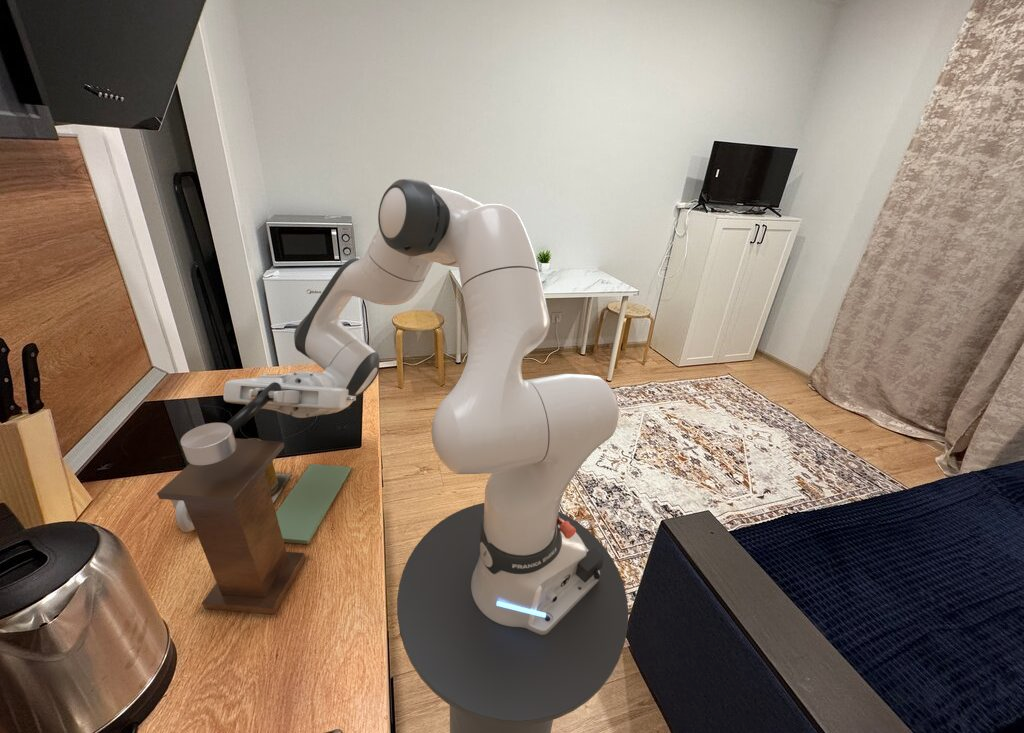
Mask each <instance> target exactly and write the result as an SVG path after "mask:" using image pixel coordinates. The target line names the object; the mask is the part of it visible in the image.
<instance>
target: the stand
mask: <svg viewBox="0 0 1024 733" xmlns="http://www.w3.org/2000/svg"><path fill="white" fill-rule="evenodd" d="M235 440H236V444H237V448H236V450H235V451H234V453H233V454H231V455H230V456H229V457H227V458H226V459H224V460H222V461H219V462H217V463H213V464H209V465H193V464H190V463H189V464H188V465H186V466H185V467H184V468H183V469H182V470H181V471H180V472H178V474H176V476H174V477H173V478H172V479H171V480H169V482H167V483H166V484H165V485H164V486H163V487H162V488H161V489H160V490H159V491H158V492H156V495H157V497H158V499H159V500H170V501H171V500H181V501H184V504H185V506H186V509H187V511H188V513H189V516H190V518H191V521H192V523H193V526H194V528H195V530H194V531H195V533H196V536H197V538H198V541H199V543H200V545H201V548H202V550H203V553H204V555H205V558H206V560H207V563H208V565H209V568H210V570H211V572H212V576H213V578H214V580H215V584H214V586H213V587H212V588H211V590H210V591H209V593H208V594H207V595H206V596H205V598H204V599H203V601H202V602H201V604H202V606H203V609H205V610H215V611H226V612H240V613H251V614H253V613H254V614H262V615H263V614H265V615H276V613H277V611H278V609H279V607H280V606H281V605H282V602H283V600H284V599H285V597H286V595H287V594H288V592H289V590H290V588H291V587H292V585H293V583H294V581H295V579H296V577H297V576H298V573H299V572H300V570H301V568H302V566H303V564H305V561H306V554H305V553H304V552H297V551H287V548H286V545H285V542H284V541H283V537H282V534H281V530H280V526H279V523H278V519H277V515H276V508H275V505H274V503H273V501H272V497H271V493H270V490H269V486H268V482H267V479H266V475H265V471H264V470H265V469H266V468H267V467H268V466H269V464H270V463H271V462H272V461H273V462H274V460H275V458H277V456H278V455H279V454H280V453H281V452H282V451H283V449H284V448H285V444H284V443H285V442H284V441H277V440H263V439H262V440H251V439H250V438H239V437H238V438H237V437H235Z"/></svg>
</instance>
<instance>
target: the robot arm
mask: <svg viewBox="0 0 1024 733" xmlns="http://www.w3.org/2000/svg"><path fill="white" fill-rule="evenodd" d="M377 214H378V215H377V219H378V221H377V222H378V227H377V230H376V231H375V233H374V235H373V237H372V239H371V241H370V243H369V245H368V248H367V250H366V252H365V254H364V255H363V256H362V257H360V258H358V257H354V258H350V259H348V260H347V261H346V262H344V263H343V264H342V265H341V266H340V267H339V268H338V269H337V270H336V272H335V273H334V274H333V275H332V276H331V279H330V280H329V281H328V283H327V284H326V286H325V287H324V289H323V290H322V292H321V294H320V295H319V297H318V298H317V300H316V302H315V303H314V305H313V306H312V308H311V310H310V311H309V312H308V313H307V315H305V317H304V318H303V319H302V320H301V321H300V322H299V323H298V325H297V327H296V328H295V330H294V334H293V341H294V347H295V350H296V351H297V352H299V353H301V354H302V355H303V356H305V357H307V358H308V359H310V360H311V361H313V362H314V363H315V364H316V365H318V366H319V367H320V368H321V369H323V371H322V372H320V371H319V372H318V371H308V370H307V371H306V370H299V371H294V372H288V373H283V374H282V373H281V374H260V375H259V377H248V378H237V379H229V380H227V381H225V383H224V386H223V393H222V394H223V395H222V396H223V401H224V402H225V403H228V404H229V403H230V404H237V405H247V404H248V403H249V402H251V401H252V400H253V399H254V398H255V397H256V396H257V395H259V394H260V393H261V392H262V391H263V390H264V389H265V388H266V387H268V386H269V385H270V384H271V383H273V382H277V383H279V384H280V386H281V390H280V391H269V393H268V396H269V397H268V401H269V402H268V403H266V404H265V405H264V406H263V407H262V408H261V410H267V411H273V412H279V413H282V414H285V415H289V416H291V417H294V418H297V419H298V418H299V419H305V418H312V417H318V416H324V415H325V416H326V415H332V414H336V413H338V412H341V411H343V410H345V409H346V408H348V407H350V406H351V404H352V403H353V402H355V401H357V397H358V396H360V395H362V394H363V393H364V392H365V391H367V389H368V388H370V386H371V385H372V384H373V383H374V381H375V379H376V378H377V377H378V375H379V371H380V355H379V353H378V352H377V351H376V350H375V349H373V348H372V347H371V346H370V345H368V343H366V342H365V341H364V340H363V339H360V337H359V336H357V335H356V334H354V333H353V332H352V331H351V330H350V329H348V328H347V327H346V326H345V325H344V324H343V323H342V321H341V319H340V315H341V313H342V312H343V310H345V307H346V306H347V304H348V303H349V302H350V300H351V299H352V297H356V298H360V299H362V300H366V301H368V302H371V303H373V304H376V305H382V306H398V305H403V304H405V303H407V302H409V301H411V300H412V299H413V298H414V297H415V296H416V295H417V294H418V292H419V290H420V289H421V288H422V286H423V284H424V282H425V280H426V278H427V276H428V274H429V272H430V271H431V268H432V266H433V264H434V263H437V264H440V265H442V266H446V267H454V268H458V273H459V279H460V284H461V291H462V292H461V293H462V296H463V302H464V308H465V315H466V323H467V332H468V352H467V358H466V362H465V365H464V368H463V371H462V374H461V376H460V377H459V379H458V381H457V383H456V384H455V386H454V387H453V389H452V390H451V391H450V392H449V393H448V394H447V396H446V397H444V399H443V400H441V402H440V403H439V405H438V407H437V408H436V410H435V413H434V415H433V418H432V422H431V431H430V432H431V442H432V445H433V448H434V451H435V453H436V455H437V457H438V459H439V460H440V461H441V462H442V464H443V465H444V466H445V467H446V468H447V469H449V470H450V472H452V473H454V474H456V475H486V474H490V476H488V479H487V482H486V484H485V488H484V500H483V501H484V502H483V503H484V515H483V518H482V521H481V529H480V556H479V560H478V563H477V565H476V568H475V570H474V572H473V575H472V580H471V591H472V595H473V598H474V601H475V603H476V605H477V606H478V608H479V609H480V610H481V612H482V613H483V614H484V615H486V616H487V617H488V618H489V619H491V620H493V621H494V622H496V623H499V624H502V625H505V626H510V627H523V628H527V629H529V630H531V631H533V632H535V633H537V634H541V635H545V634H547V633H548V632H549V631H550V630H551V629H552V628H553V627H554V626H555V625H556V624H557V623H558V622H559V621H560V620H561V619H562V618H563V617H564V616H565V615H566V614H567V613H568V612H569V611H570V610H571V609H572V608H573V607H574V606H575V605H576V604H577V603H578V602H579V601H580V600H581V599H582V598H583V596H584V595H585V594H586V593H587V592H588V591H589V590H590V589H591V588H592V587H593V586H594V585H595V584H596V583H597V582H598V581H599V579H600V573H599V570H600V569H601V568H602V566H603V561H604V557H605V556H604V555H603V554H602V553H601V552H599V551H598V550H597V549H596V548H595V547H592V548H591V549H590V550H588V549H587V548H586V547H585V545H584V543H583V541H582V540H581V538H580V537H579V535H578V534H577V533H576V529H575V528H574V527H573V526H572V525H570V523H569V521H564V520H562V519H561V518H560V515H559V514H558V511H559V510H560V506H561V502H562V499H563V496H564V494H565V492H566V490H567V489H568V486H569V485H570V483H571V481H572V480H573V478H574V477H575V475H576V474H577V473H578V471H579V470H580V468H581V467H582V465H583V464H584V463H585V462H586V461H587V459H588V458H589V457H590V456H591V455H592V453H594V452H595V451H596V450H597V449H598V448H599V447H601V445H603V444H604V443H605V442H607V441H608V440H610V439H611V438H612V437H613V435H614V434H615V433H616V430H617V427H618V424H619V418H620V409H619V404H618V400H617V396H616V395H615V393H614V391H613V390H612V388H611V386H610V385H609V384H608V383H607V382H606V381H605V380H604V379H603V378H602V377H600V376H598V375H593V374H582V373H560V374H554V375H548V376H541V377H536V378H530V379H524V378H523V373H522V372H523V371H522V365H523V359H524V358H525V356H527V355H529V354H530V353H531V352H533V351H534V350H535V349H536V348H538V346H540V345H541V344H542V343H543V342H544V340H545V339H546V337H547V335H548V334H549V329H550V325H551V319H550V314H549V309H548V305H547V300H546V295H545V292H544V287H543V283H542V278H541V274H540V273H541V272H540V269H539V266H538V260H537V258H536V255H535V251H534V249H533V245H532V242H531V239H530V237H529V234H528V232H527V229H526V227H525V225H524V222H523V221H522V218H521V217H520V215H519V214H518V213H517V212H516V210H514V209H513V208H511V207H509V206H508V205H505V204H500V203H486V204H483V203H481V202H480V201H477V200H476V199H473V198H472V197H469V196H466V195H464V194H463V193H461V192H459V191H456V190H452V189H449V188H445V187H442V186H437V185H433V184H429V183H428V182H426V181H424V180H420V179H413V178H411V179H410V178H403V179H402V178H401V179H398V180H396V181H394V182H393V183H392V184H391V185H390V186H388V188H387V189H385V192H384V193H383V195H382V197H381V200H380V203H379V207H378V213H377ZM559 512H560V511H559ZM545 619H549V620H550V621H546V620H545Z"/></svg>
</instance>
